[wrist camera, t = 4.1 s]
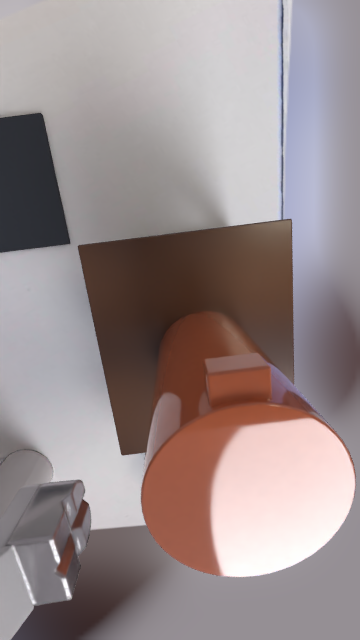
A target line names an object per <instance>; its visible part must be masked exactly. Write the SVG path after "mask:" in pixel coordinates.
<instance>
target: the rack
mask: <svg viewBox="0 0 360 640" xmlns="http://www.w3.org/2000/svg"><path fill="white" fill-rule="evenodd" d="M78 250H79V255H80V260H81V265H82V269H83V274H84V279H85V284H86V288H87V293H88V298H89V303H90V307H91V312H92V317H93V322H94V326H95V331H96V336H97V341H98V346H99V350H100V355H101V360H102V365H103V369H104V374H105V379H106V384H107V388H108V393H109V398H110V403H111V407H112V412H113V417H114V422H115V426H116V431H117V436H118V441H119V445H120V450H121V455H129V454H137V453H145V452H146V446H147V438H148V430H149V422H150V414H151V406H152V398H153V389H154V381H155V373H156V365H157V357H158V350H159V345H160V342H161V339H162V338H163V336H164V334H165V332H166V331H167V330H168V328H169V327H170V326H171V325H172V324H173V323H175V322H176V321H177V320H179V319H180V318H182V317H184V316H186V315H188V314H191V313H195V312H201V311H211V312H217V313H221V314H224V315H226V316H228V317H230V318H232V319H233V320H235V321H236V322H237V323H238V324H239V325H240V326H241V327H242V328H243V329H244V330H245V331H246V333H247V334H248V335H249V336H250V337H251V338H252V339H253V340H254V341H255V343H256V344H257V345H258V346H259V347H260V348H261V349H262V350H263V351H264V352H265V354H266V355H267V356H268V357H269V358H270V359H271V360H272V361H273V362H274V364H275V365H276V366H277V367H278V368H279V369H280V370H281V371H282V372H283V374H284V375H285V376H286V377H287V378H288V379H289V380H290V381H291V382H292V384H293V385H294V346H293V344H294V342H293V340H294V339H293V272H292V271H293V270H292V269H293V268H292V267H293V266H292V220H291V219H285V220H277V221H269V222H261V223H253V224H245V225H237V226H229V227H221V228H213V229H205V230H197V231H189V232H181V233H173V234H165V235H157V236H149V237H141V238H133V239H125V240H117V241H109V242H101V243H93V244H85V245H79V246H78Z"/></svg>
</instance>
